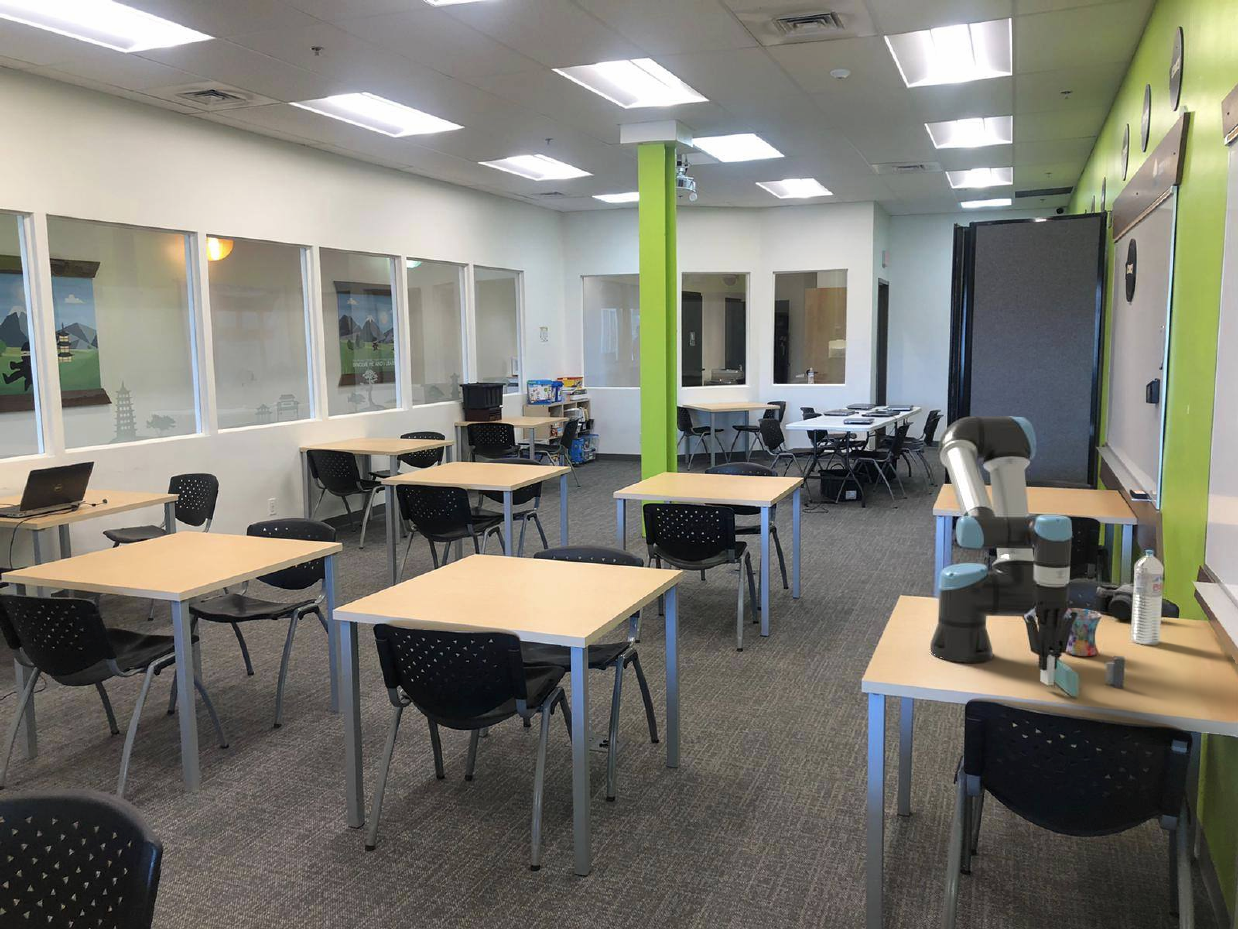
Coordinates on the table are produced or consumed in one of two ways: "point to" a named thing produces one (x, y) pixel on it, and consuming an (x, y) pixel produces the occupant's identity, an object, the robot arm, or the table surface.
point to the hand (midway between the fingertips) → (1046, 682)
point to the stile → (1115, 672)
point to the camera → (1115, 600)
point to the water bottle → (1147, 600)
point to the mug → (1083, 633)
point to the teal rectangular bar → (1066, 678)
